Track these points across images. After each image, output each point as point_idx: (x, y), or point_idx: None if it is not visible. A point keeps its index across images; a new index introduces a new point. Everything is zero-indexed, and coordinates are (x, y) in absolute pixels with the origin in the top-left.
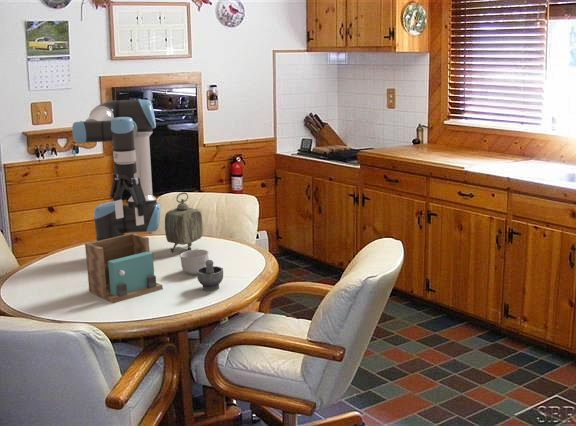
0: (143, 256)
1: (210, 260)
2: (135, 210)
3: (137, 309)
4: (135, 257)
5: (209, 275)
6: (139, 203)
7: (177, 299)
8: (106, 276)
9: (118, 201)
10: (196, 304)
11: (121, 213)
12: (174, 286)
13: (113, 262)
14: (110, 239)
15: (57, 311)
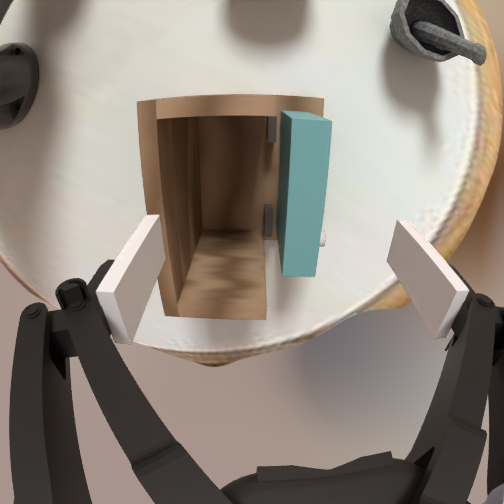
0: (327, 162)
1: (483, 50)
2: (427, 321)
3: (383, 225)
4: (324, 196)
5: (456, 55)
6: (494, 354)
7: (409, 130)
8: (197, 204)
9: (127, 319)
10: (457, 131)
11: (153, 242)
12: (328, 65)
13: (310, 273)
14: (166, 230)
15: (260, 322)
